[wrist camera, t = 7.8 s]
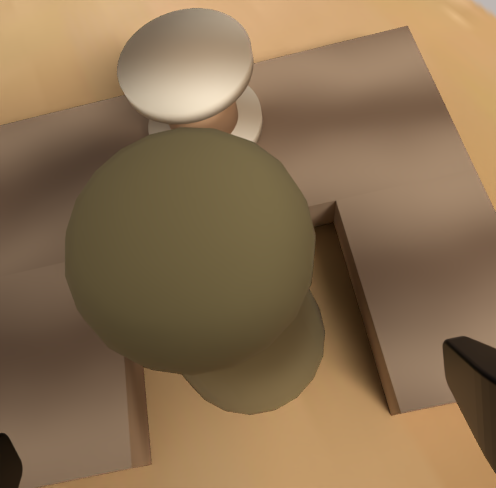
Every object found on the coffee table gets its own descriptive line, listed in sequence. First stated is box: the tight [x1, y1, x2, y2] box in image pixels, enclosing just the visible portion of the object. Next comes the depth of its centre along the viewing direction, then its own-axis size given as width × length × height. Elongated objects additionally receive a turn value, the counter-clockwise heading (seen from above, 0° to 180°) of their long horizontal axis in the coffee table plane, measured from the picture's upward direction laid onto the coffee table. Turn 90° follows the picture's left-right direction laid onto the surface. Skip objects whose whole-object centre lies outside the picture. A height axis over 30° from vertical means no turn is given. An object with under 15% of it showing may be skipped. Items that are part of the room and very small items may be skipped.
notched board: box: [0, 8, 496, 488], centre depth 17 cm, size 16×20×6 cm
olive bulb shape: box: [65, 127, 325, 415], centre depth 13 cm, size 6×6×11 cm
